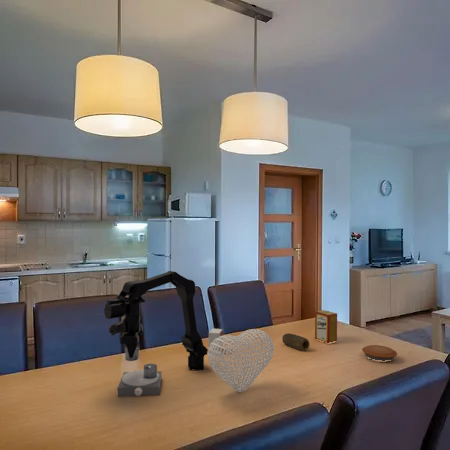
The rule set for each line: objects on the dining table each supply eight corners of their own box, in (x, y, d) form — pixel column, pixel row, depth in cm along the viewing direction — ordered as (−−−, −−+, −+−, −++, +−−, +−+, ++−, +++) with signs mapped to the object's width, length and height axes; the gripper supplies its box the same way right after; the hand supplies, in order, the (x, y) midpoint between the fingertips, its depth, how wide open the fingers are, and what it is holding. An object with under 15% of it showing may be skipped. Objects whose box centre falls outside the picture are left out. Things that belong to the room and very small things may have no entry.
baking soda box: (336, 342, 212) (337, 312, 212) (328, 344, 209) (328, 314, 209) (323, 338, 220) (323, 309, 220) (315, 339, 217) (315, 310, 217)
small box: (219, 355, 190) (219, 333, 190) (208, 354, 191) (208, 332, 191) (222, 349, 198) (223, 328, 198) (212, 349, 199) (212, 328, 199)
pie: (361, 361, 184) (361, 350, 184) (362, 351, 198) (363, 341, 198) (397, 366, 178) (397, 355, 178) (396, 355, 193) (396, 345, 193)
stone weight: (311, 350, 199) (311, 337, 199) (302, 353, 195) (302, 339, 195) (289, 342, 211) (289, 330, 211) (280, 345, 207) (280, 332, 207)
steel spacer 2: (157, 373, 156) (157, 363, 156) (156, 378, 151) (156, 368, 151) (144, 373, 155) (144, 363, 155) (142, 378, 150) (143, 368, 150)
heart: (226, 410, 134) (226, 345, 134) (198, 394, 146) (199, 334, 146) (281, 388, 152) (282, 331, 152) (253, 376, 164) (254, 322, 164)
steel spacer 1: (139, 356, 155) (139, 346, 155) (137, 360, 150) (137, 350, 150) (126, 356, 154) (126, 346, 154) (124, 361, 149) (124, 350, 149)
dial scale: (161, 378, 161) (161, 368, 161) (159, 395, 145) (159, 384, 145) (123, 379, 159) (123, 369, 159) (117, 396, 144) (117, 385, 143)
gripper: (115, 309, 160) (114, 348, 160) (106, 321, 142) (105, 364, 142) (143, 309, 161) (142, 347, 162) (137, 320, 143) (137, 364, 143)
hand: (132, 355), depth 152 cm, fingers closed on steel spacer 1, 5 cm apart
